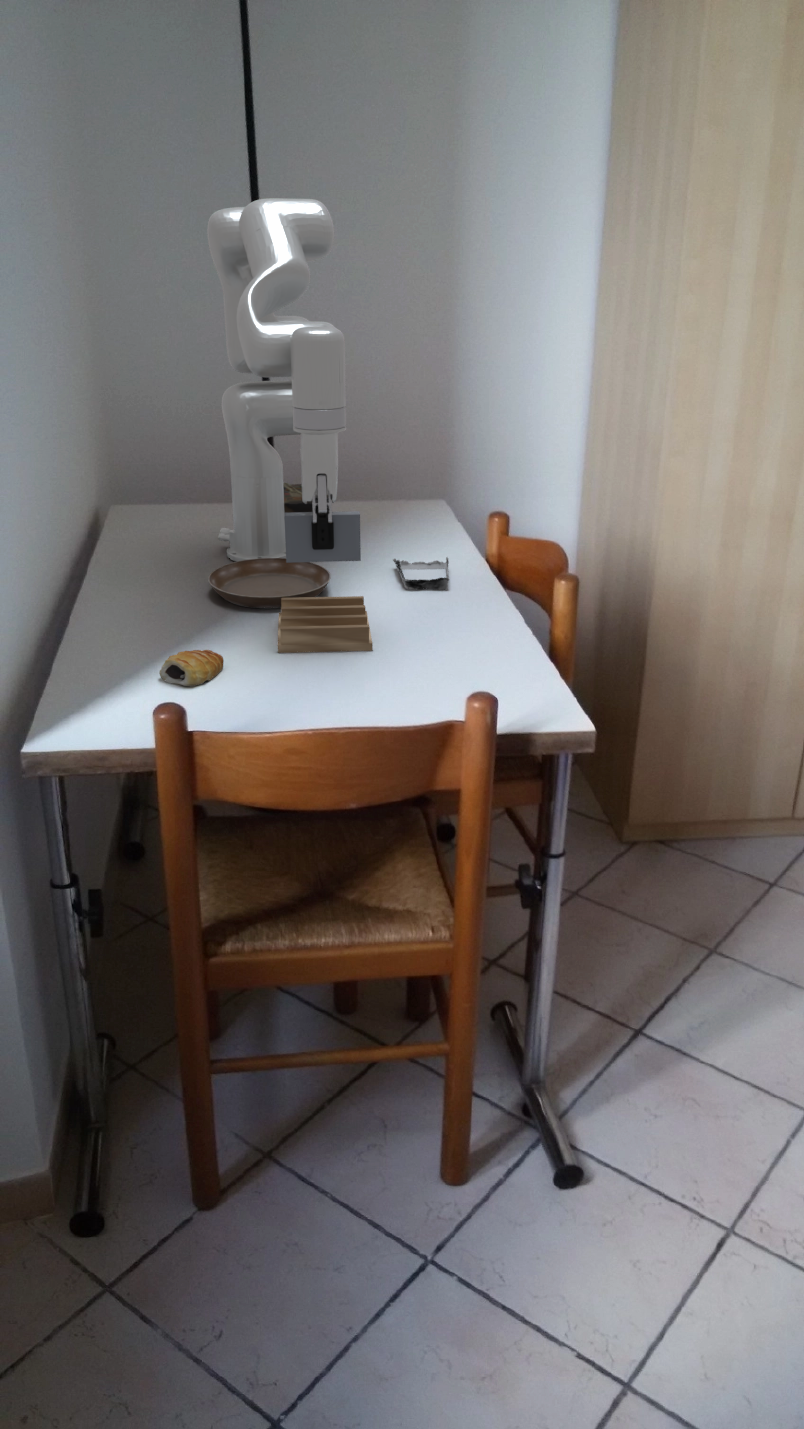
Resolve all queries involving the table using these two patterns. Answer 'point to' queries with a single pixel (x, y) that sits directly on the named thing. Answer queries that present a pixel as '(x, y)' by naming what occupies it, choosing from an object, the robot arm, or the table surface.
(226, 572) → the plant saucer
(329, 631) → the board rack
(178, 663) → the pastry
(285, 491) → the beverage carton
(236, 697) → the table surface
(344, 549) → the slate board
